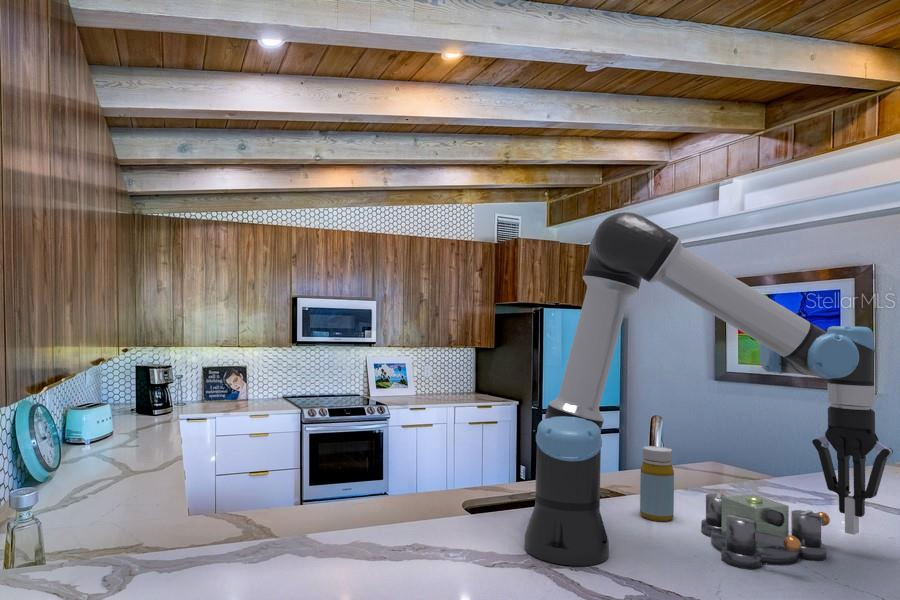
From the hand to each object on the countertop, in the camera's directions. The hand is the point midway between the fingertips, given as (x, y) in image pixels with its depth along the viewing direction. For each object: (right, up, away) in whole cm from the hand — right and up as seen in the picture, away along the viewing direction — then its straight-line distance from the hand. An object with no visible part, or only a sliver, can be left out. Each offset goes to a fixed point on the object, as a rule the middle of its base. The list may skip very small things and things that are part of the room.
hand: (851, 532), depth 111 cm
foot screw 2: (-22, 0, -9) cm, 23 cm away
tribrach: (-19, -3, +2) cm, 20 cm away
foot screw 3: (-7, -2, +1) cm, 7 cm away
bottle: (-30, -4, +19) cm, 36 cm away
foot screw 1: (-20, -2, +12) cm, 23 cm away
